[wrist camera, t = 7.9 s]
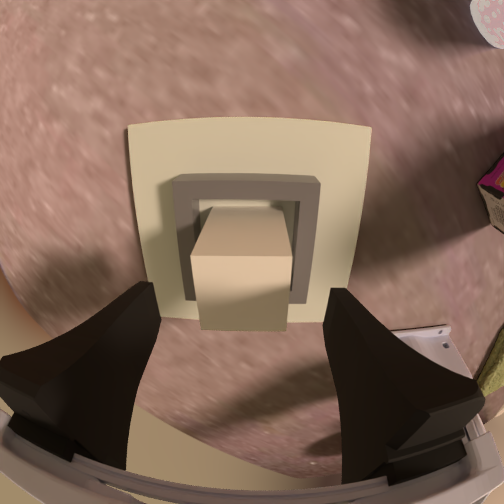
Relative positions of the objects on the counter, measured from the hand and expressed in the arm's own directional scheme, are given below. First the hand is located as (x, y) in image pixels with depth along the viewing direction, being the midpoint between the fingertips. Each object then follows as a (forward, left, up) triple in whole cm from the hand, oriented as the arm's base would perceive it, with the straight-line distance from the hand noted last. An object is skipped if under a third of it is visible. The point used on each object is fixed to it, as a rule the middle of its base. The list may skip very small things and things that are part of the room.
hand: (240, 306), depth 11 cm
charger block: (0, 0, -7) cm, 7 cm away
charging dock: (0, 0, -8) cm, 8 cm away
